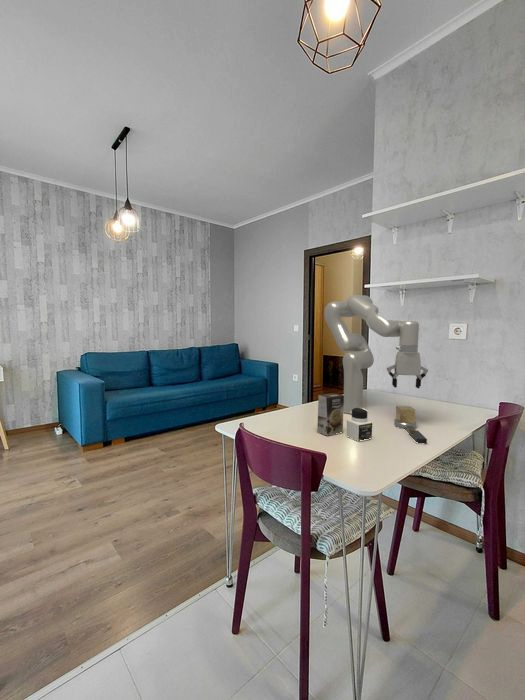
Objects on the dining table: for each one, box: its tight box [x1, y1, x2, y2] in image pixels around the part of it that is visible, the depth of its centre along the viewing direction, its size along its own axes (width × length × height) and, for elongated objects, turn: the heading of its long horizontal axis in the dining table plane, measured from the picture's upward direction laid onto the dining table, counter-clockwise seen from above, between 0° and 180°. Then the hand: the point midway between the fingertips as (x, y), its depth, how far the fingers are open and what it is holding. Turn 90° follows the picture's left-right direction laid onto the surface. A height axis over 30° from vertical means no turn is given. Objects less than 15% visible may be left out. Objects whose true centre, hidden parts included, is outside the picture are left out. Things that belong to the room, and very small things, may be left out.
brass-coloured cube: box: [395, 405, 416, 424], centre depth 149 cm, size 6×6×6 cm
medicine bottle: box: [345, 407, 373, 441], centre depth 133 cm, size 7×7×12 cm
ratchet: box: [393, 418, 428, 443], centre depth 141 cm, size 9×26×6 cm, turn 173°
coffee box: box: [317, 392, 344, 437], centre depth 139 cm, size 9×6×16 cm
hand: (406, 387), depth 148 cm, fingers open, 9 cm apart
